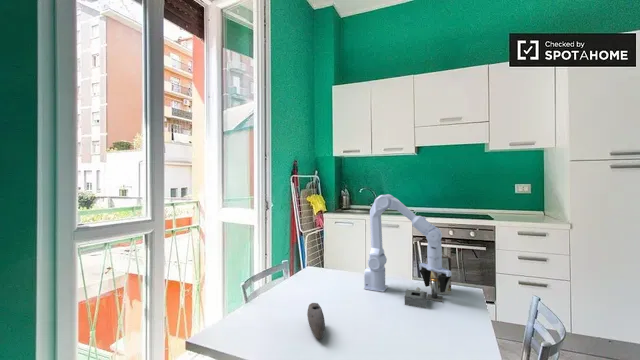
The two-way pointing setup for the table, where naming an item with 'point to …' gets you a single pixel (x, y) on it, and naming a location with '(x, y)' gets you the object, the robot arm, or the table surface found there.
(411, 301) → the block
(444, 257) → the coffee box
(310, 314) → the perforated stone tool
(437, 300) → the mat
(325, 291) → the table surface
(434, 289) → the key peg
